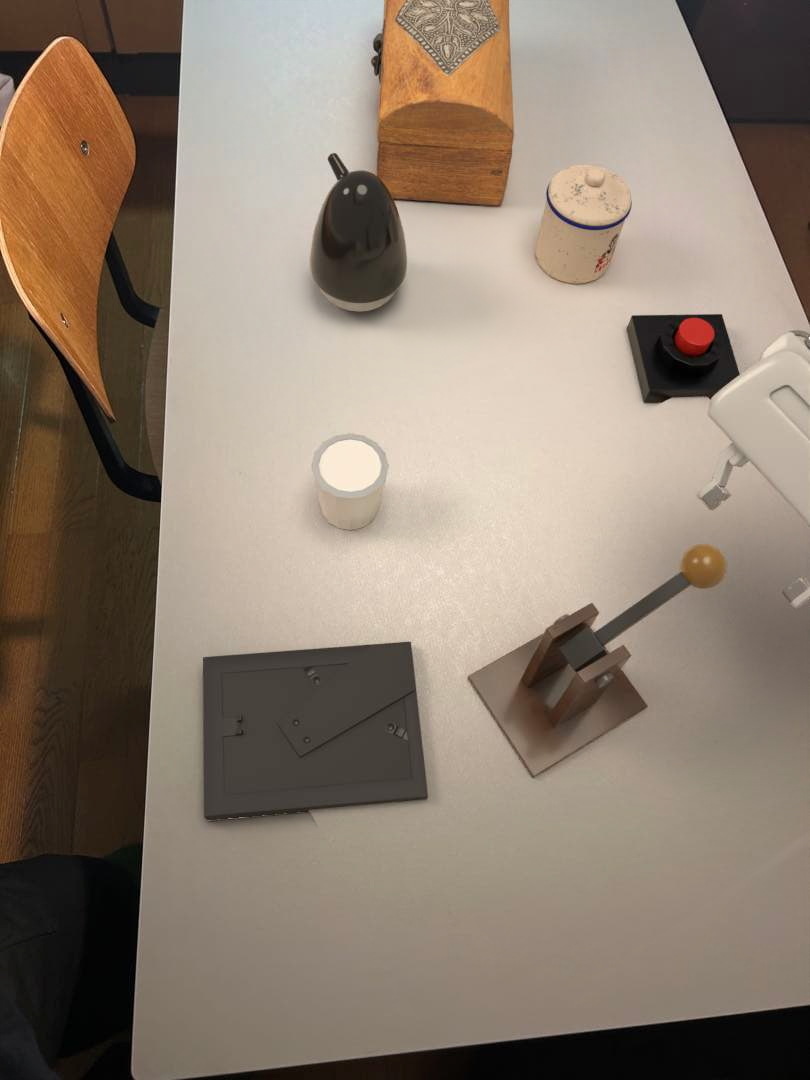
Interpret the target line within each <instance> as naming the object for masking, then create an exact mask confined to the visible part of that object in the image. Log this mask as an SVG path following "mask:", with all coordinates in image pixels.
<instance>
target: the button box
mask: <svg viewBox="0 0 810 1080" xmlns="http://www.w3.org/2000/svg"><path fill="white" fill-rule="evenodd" d="M688 318H699V319H702V320H704V321H706V322H708V323H709V324H710V325H711V326H712V328H713V330H714V338H713V340H712V342H711V344H710V346H709V348H708V350H707V351H706V352H705V353H704V354H702V355H698V356H691V355H688V354H686V353H683V352H681V351H680V350H679V349H678V348H677V346H676V344H675V341H674V338H675V335H676V333H677V331H678V328H679V326H680V324H681V323H682V322H683V321H684V320H686V319H688ZM626 332H627V333H626V334H627V337H628V341H629V345H630V349H631V354H632V359H633V364H634V366H635V371H636V376H637V379H638V384H639V389H640V392H641V397H642V401H643V404H662V403H665V402H666V401H668V400H670V399H672V398H698V397H700V398H704V397H705V398H708V399H709V401H710V400H711V398H712V397H713V396H714V395H715V394H716V393H717V392H718V391H719V390H721V389H722V388H723V387H724V386H726V385H727V384H728V383H729V382H731V381H732V380H733V379H735V378H736V377H737V376H739V375H740V374H741V373H740V369H739V367H738V363H737V360H736V357H735V353H734V350H733V347H732V344H731V340H730V336H729V333H728V329H727V326H726V323H725V320H724V317H723V314H722V313H710V314H709V313H708V314H705V313H703V314H700V313H699V314H696V313H695V314H637V315H635V314H634V315H633V314H632V315H631V317H630V319H629V321H628V324H627V326H626Z"/></svg>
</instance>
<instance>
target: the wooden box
mask: <svg viewBox="0 0 810 1080" xmlns="http://www.w3.org/2000/svg"><path fill="white" fill-rule="evenodd" d="M382 18H383V19H382V30H381V32H378V33H377V34H376V35H375V37H374V38H373V41H372V49H373V50H374V52H376V55H374V56H372V58H371V60H370V64H371V66H372V67H373V73H374V74H373V75H374V76H375V77H377V76H378V83H379V95H378V107H377V122H376V138H377V147H376V149H377V150H376V176H378V177H379V178H380V179H381V180H382V181H383V183H384V184H385V185H386V187H387V188H388V190H389V191H390V193H391V195H392V197H393V199H394V200H395V199H398V200H414V201H428V202H442V203H454V204H468V205H486V206H501V205H502V204H503V201H504V197H505V194H506V191H507V186H508V179H509V172H510V167H511V162H512V158H513V157H512V156H513V143H514V137H515V127H514V126H515V125H514V106H513V105H514V104H513V85H512V84H513V83H512V65H511V62H512V61H511V34H510V33H511V32H510V30H511V29H510V0H383V17H382Z"/></svg>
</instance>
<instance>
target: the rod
mask: <svg viewBox="0 0 810 1080" xmlns="http://www.w3.org/2000/svg"><path fill="white" fill-rule="evenodd" d="M727 567H728V564H727V560H726V557H725V556H724V554H723V553H722V551H721V550H720V549H718V548H717V547H716V546H713V545H711V544H707V543H705V544H704V543H699V544H695V545H692V546H690V547H689V548H688V549H686V550H685V551H684V552H683V554H682V556H681V557H680V560H679V573H677V574H675V575H674V576H672V577H671V578H670V579H669V580H667V581H665V582H663V584H661V585H660V586H658V587H657V588H656V589H654V590H653V591H651V592H650V593H649V594H647V595H645V597H643V598H642V599H640V600H638V601H637V602H636V603H634V604H632V605H631V606H630V607H629V608H627V609H626V610H624V611H623V612H621V613H620V614H618V615H617V616H616V617H614V618H613V619H611V620H610V621H608V622H607V623H605V624H604V625H602V626H601V627H600V628H598V629H597V630H596V631H593V632H594V633H593V632H592V631H591V629H592V628H591V627H590V628H591V629H590V628H589V627H586V628H585V629H583V630H582V631H580V632H579V633H577V634H576V635H575V636H573V637H572V638H570V639H569V640H567V641H566V642H565V643H563V644H562V645H560V646H559V647H558V649H559V650H560V651H561V653H562V654H563V656H564V657H565V658H566V660H567V661H568V663H569V664H570V665H571V667H572V668H573V670H574V671H575V672H578V671H580V670H581V669H583V668H585V667H587V666H588V665H590V664H592V663H593V662H595V661H597V660H598V659H600V658H602V657H604V656H605V655H607V654H608V653H607V651H608V650H607V651H606V650H605V648H606V645H608V644H609V643H611V642H612V641H614V640H615V639H617V638H618V637H620V636H621V635H622V634H624V633H625V632H627V631H628V630H629V629H631V628H632V627H633V626H635V625H636V624H638V623H639V622H641V621H642V620H644V619H645V618H646V617H648V616H649V615H651V614H652V613H653V612H656V610H658V609H660V607H663V605H665V604H667V602H669V601H671V600H673V598H675V597H677V596H678V595H679V594H681V593H682V592H683V591H685V590H686V589H688V588H689V587H692V588H694V589H698V590H708V589H712V588H714V587H716V586H719V584H720V583H721V582H722V581H723V580H724V578H725V577H726V574H727V570H728V569H727ZM603 646H604V647H605V648H604V647H603Z"/></svg>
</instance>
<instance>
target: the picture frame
mask: <svg viewBox="0 0 810 1080" xmlns="http://www.w3.org/2000/svg"><path fill="white" fill-rule="evenodd" d="M418 703H419V702H418V693H417V685H416V675H415V666H414V658H413V648H412V642H411V641H401V642H400V641H399V642H386V643H374V644H360V645H346V646H335V647H334V646H333V647H320V648H307V649H294V650H293V649H292V650H279V651H278V650H277V651H267V652H265V651H264V652H255V653H254V652H253V653H243V654H242V653H240V654H229V655H227V654H225V655H214V656H202V721H203V725H202V726H203V727H202V730H203V731H202V732H203V733H202V734H203V735H202V737H203V817H204V818H205V820H206V821H207V820H216V821H218V820H217V819H228V818H239V817H250V818H253V817H252V816H261V817H263V816H262V815H272V816H276V815H275V814H283V815H285V814H284V813H294V814H298V813H297V812H305V813H309V812H308V811H311V810H319V809H320V810H321V809H322V810H323V809H331V808H345V807H355V806H365V805H367V806H368V805H378V804H387V803H389V804H390V803H400V802H410V801H420V800H427V799H428V797H429V794H428V793H429V791H428V784H427V775H426V766H425V756H424V748H423V747H424V746H423V740H422V730H421V721H420V711H419V704H418ZM239 819H240V818H239ZM228 820H229V819H228Z"/></svg>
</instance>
